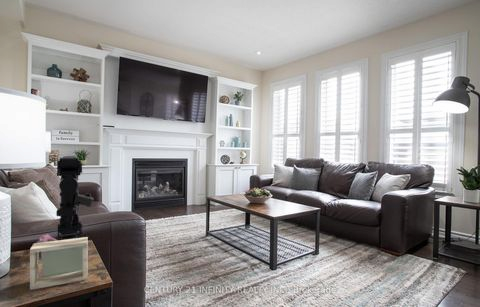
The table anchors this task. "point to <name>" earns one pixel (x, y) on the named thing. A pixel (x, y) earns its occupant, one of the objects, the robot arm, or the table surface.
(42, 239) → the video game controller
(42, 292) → the table surface
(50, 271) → the door
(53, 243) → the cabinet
